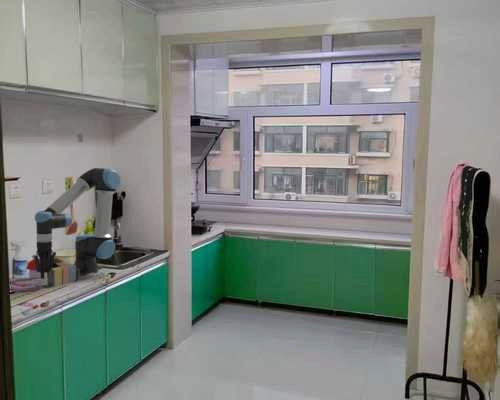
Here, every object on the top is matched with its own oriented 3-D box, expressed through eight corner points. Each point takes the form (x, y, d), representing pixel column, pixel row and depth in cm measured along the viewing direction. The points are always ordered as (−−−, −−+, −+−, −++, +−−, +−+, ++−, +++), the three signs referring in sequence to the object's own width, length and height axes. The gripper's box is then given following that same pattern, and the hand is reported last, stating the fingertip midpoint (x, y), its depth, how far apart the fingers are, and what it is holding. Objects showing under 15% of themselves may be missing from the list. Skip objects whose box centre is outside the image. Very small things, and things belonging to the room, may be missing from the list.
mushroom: (27, 276, 275) (26, 256, 274) (47, 275, 279) (47, 255, 278) (25, 281, 266) (25, 260, 264) (46, 280, 269) (46, 260, 268)
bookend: (49, 284, 257) (48, 268, 257) (54, 286, 255) (54, 270, 254) (43, 286, 255) (43, 269, 254) (49, 287, 252) (48, 271, 251)
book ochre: (49, 284, 257) (49, 268, 256) (57, 283, 261) (57, 267, 261) (54, 286, 255) (54, 270, 254) (62, 284, 259) (62, 268, 258)
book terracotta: (63, 281, 265) (63, 265, 264) (69, 282, 263) (69, 267, 262) (57, 282, 262) (57, 266, 261) (63, 284, 259) (63, 268, 259)
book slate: (70, 279, 269) (70, 264, 268) (76, 281, 267) (76, 265, 266) (64, 280, 266) (64, 265, 265) (70, 282, 263) (70, 266, 262)
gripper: (50, 238, 257) (50, 280, 260) (28, 241, 246) (29, 285, 249) (59, 240, 253) (59, 282, 256) (37, 243, 242) (37, 288, 245)
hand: (44, 284), depth 252 cm, fingers closed
